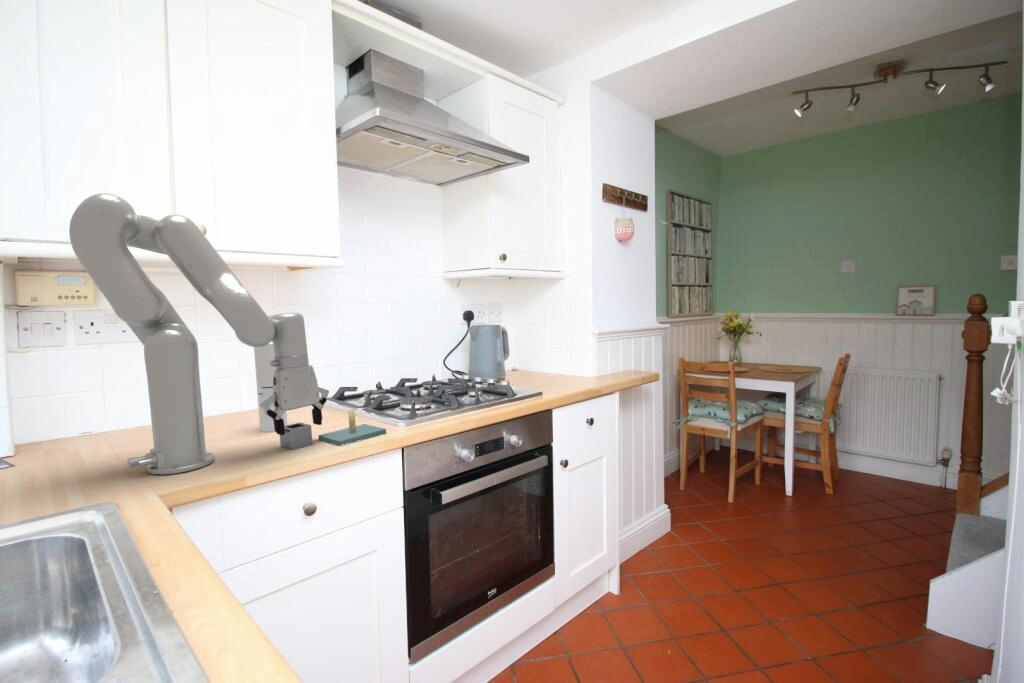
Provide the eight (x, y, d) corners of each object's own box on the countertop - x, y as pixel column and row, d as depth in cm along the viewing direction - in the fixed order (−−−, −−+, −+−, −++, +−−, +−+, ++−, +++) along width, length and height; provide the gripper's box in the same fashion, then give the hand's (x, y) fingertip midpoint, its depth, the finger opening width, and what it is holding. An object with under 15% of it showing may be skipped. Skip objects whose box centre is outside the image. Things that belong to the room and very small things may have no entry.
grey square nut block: (291, 450, 119) (289, 430, 119) (280, 446, 123) (279, 426, 122) (312, 444, 124) (311, 425, 123) (301, 441, 127) (300, 422, 127)
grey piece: (280, 431, 138) (273, 343, 136) (255, 432, 138) (248, 344, 136) (291, 425, 145) (286, 341, 143) (268, 425, 145) (262, 342, 143)
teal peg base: (339, 446, 121) (338, 417, 121) (318, 439, 128) (316, 412, 127) (386, 433, 132) (384, 407, 132) (364, 428, 139) (363, 403, 138)
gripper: (263, 368, 113) (272, 440, 114) (331, 358, 126) (338, 422, 128) (249, 367, 117) (258, 436, 119) (316, 356, 131) (323, 419, 132)
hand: (299, 429), depth 123 cm, fingers open, 9 cm apart
